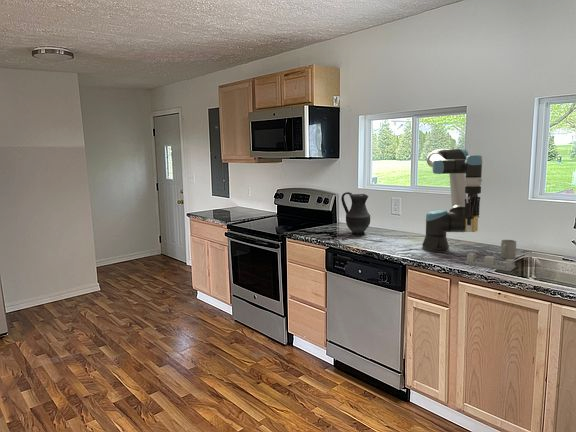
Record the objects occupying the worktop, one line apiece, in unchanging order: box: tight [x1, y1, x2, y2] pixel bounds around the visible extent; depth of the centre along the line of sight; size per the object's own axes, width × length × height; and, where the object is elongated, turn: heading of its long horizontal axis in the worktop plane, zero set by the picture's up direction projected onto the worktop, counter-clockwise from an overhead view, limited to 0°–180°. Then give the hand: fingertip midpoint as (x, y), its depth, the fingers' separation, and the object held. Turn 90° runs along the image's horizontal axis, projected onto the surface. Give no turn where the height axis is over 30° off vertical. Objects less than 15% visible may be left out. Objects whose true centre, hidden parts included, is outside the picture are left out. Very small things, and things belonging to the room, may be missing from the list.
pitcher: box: [340, 191, 371, 237], centre depth 296 cm, size 17×21×30 cm
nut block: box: [466, 215, 479, 233], centre depth 218 cm, size 4×4×8 cm
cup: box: [500, 239, 517, 260], centre depth 228 cm, size 7×10×9 cm
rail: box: [464, 252, 517, 272], centre depth 216 cm, size 22×9×5 cm, turn 47°
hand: (471, 230), depth 219 cm, fingers closed on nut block, 4 cm apart
